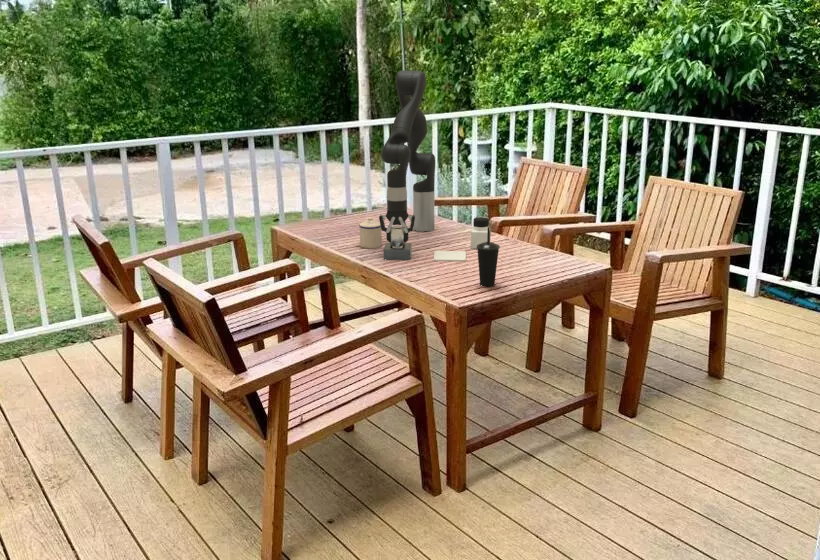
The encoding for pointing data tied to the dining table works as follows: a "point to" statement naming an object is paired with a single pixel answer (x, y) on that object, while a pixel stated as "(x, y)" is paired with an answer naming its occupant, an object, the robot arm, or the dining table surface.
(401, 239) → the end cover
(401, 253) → the housing
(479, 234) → the medicine bottle
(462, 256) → the pad
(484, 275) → the drinking cup
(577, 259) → the dining table surface
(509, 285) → the dining table surface
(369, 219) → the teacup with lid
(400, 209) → the robot arm
